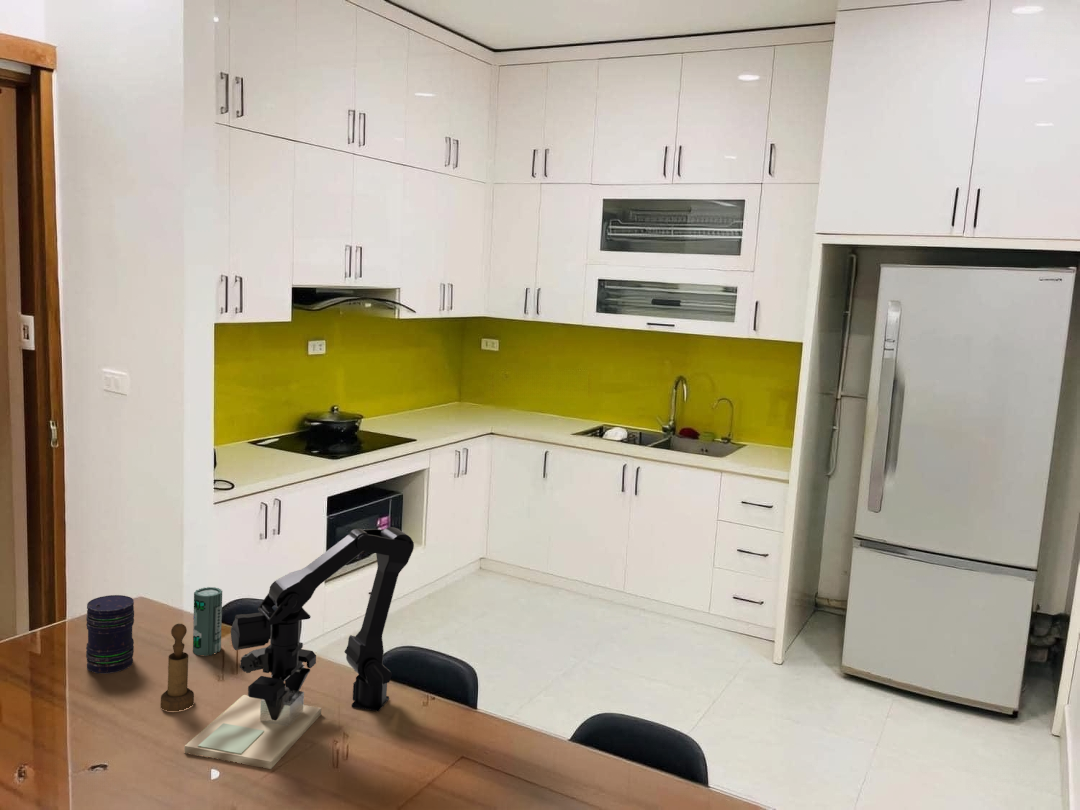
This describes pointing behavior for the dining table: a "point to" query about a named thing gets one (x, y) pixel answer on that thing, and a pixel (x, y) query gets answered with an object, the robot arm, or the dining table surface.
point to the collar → (285, 709)
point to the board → (250, 734)
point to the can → (207, 621)
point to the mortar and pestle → (177, 675)
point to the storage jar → (110, 633)
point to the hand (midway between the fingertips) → (282, 712)
